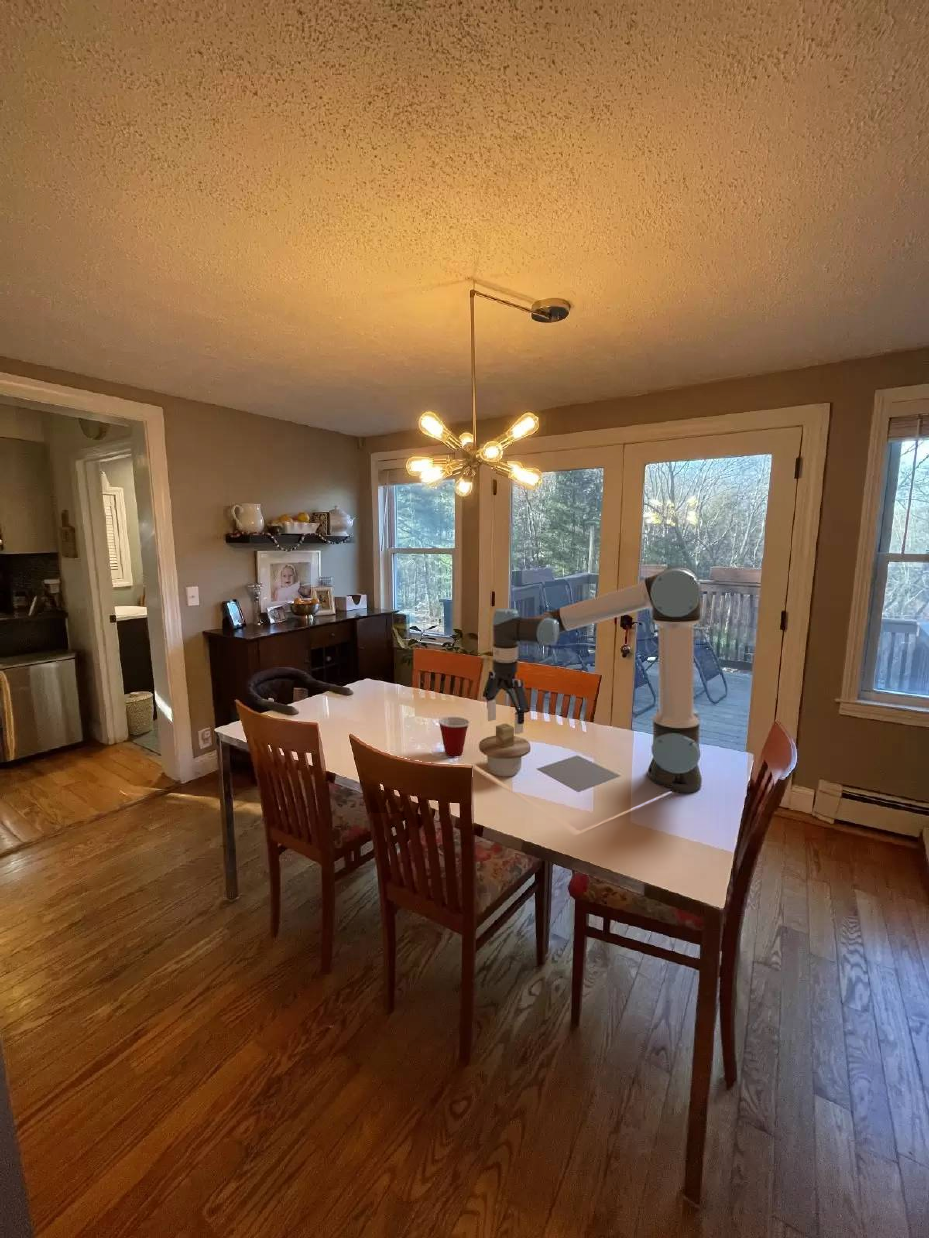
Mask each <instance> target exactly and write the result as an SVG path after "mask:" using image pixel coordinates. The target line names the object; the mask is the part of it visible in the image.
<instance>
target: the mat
mask: <svg viewBox="0 0 929 1238" xmlns="http://www.w3.org/2000/svg"><path fill="white" fill-rule="evenodd" d="M536 770H538V771H540V772H541V773H543V774H545V775H547V776H549V778H551V779H553V780H556V781H557V782H559V783H561V784H563V785H564V786H566V787H568V788H569V789H572V790H574V791H576V792H577V793H580V792H582V791H585V790H587V789H591V788H592V787H596V786H599V785H601V784H604V783H606V782H608V781H611V780H613V779H616V778H620V777H621V775H620V774H618V773H616V772H614V771H611V770H610V769H608V768H605V767H603V766H601V765H599V764H597V763H594V762H593V761H590V760H589V759H586V758H584V757H582V756H580V755H574V756H570V757H568V758H565V759H562V760H559V761H555V762H552V763H550V764H547V765H543V766H541V767H537V768H536Z"/></svg>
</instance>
